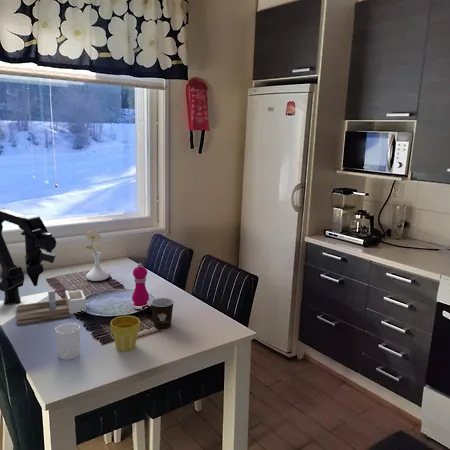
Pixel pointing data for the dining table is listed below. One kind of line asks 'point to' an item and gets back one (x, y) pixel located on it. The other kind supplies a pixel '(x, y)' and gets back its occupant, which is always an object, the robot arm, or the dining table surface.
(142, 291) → the pepper mill
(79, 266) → the dining table surface
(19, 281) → the robot arm
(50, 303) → the striker
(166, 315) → the coffee mug
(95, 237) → the flower in vase
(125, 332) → the plant pot
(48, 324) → the dining table surface
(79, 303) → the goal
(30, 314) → the board
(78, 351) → the white cup
